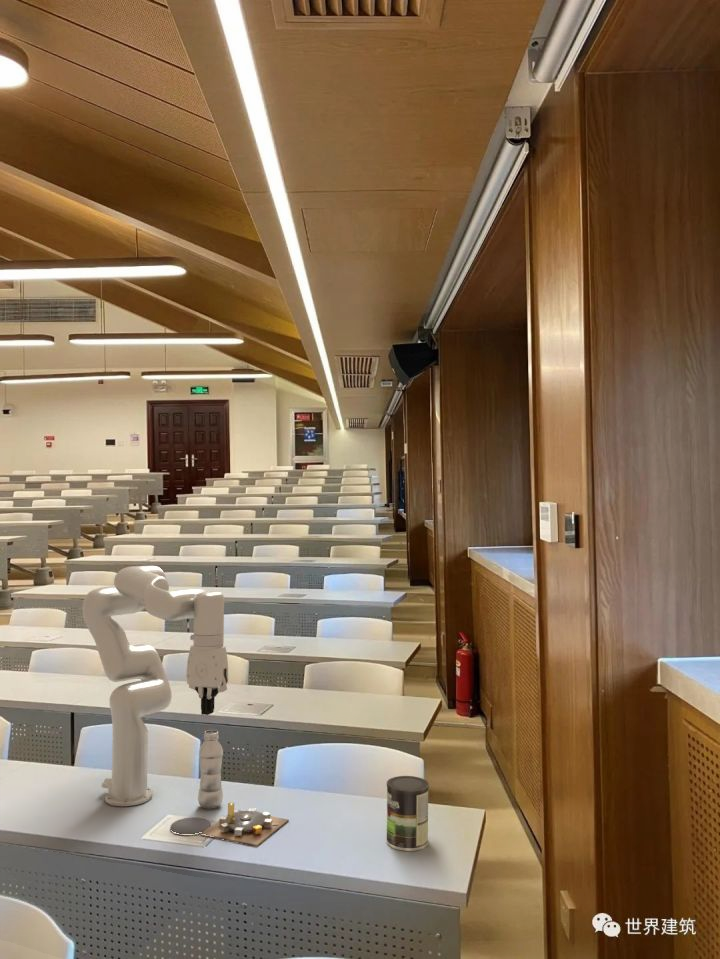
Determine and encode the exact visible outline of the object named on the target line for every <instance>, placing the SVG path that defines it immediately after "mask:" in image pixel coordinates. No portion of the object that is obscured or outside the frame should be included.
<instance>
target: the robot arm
mask: <svg viewBox="0 0 720 959" xmlns="http://www.w3.org/2000/svg"><path fill="white" fill-rule="evenodd" d="M166 578H167V577H166V574H165V572H164V570H163V569H161V568H160V567H159V566H157V565H135V566H132V565H131V566H126V567H124V568H122V569H120V570H118V572H117V573H116V574H115V575H114V578H113V586H104V587H99V588H98V587H97V588H95V589H92V590H90V591H89V592H88V593H86V595H85V596H84V598H83V602H82V618H83V620H84V623H85V625H86V628H87V630H88V631H89V633H90V634H91V637H92V638H93V640H94V643H95V645H96V646H95V647H96V648H97V652H98V655H99V658H100V661H101V665H102V667H103V670H104V673H105V675H106V677H107V678H108V680H109V681H111V682H114V683H119V682H121V683H122V682H126V681H127V682H128V681H131V680H136V679H140V680H137V681H132V682H128V683H123V684H121V685H119V686H117V687H116V688H114V689H113V690H112V692H111V694H110V695H109V710H110V714H111V723H112V744H111V745H112V750H111V754H112V755H111V761H112V762H111V777H105V779H104V781H103V782H102V784H101V787H102V788H104V789H107V791H108V792H107V793H106V795H105V796H104V797H105V798H104V800H105V803H107V804H108V805H110V806H112V807H113V806H114V807H131V806H138V805H141V804H143V803H146V802H148V801H150V800H151V799H152V798H153V795H154V794H153V790H152V788H150V787H148V766H149V763H148V762H149V761H148V760H149V731H148V728H147V726H146V724H145V722H144V721H143V719H142V717H143V716H147V715H150V714H155V713H159V712H161V711H164V710H166V709H167V708H168V707H169V706H170V704H171V703H172V702H171V701H172V698H173V697H172V688H171V686H170V682H169V680H168V679H169V678H168V676H167V673H166V671H165V668H164V665H163V662H162V660H161V658H160V655H159V653H158V651H157V650H156V649H155V648H154V647H153V646H152V645H150V644H145V643H142V644H141V643H140V644H135V645H134V644H130V642H129V639H128V637H127V634H126V632H125V630H124V629H123V627H122V626H121V625H120V623H118V622H117V621H116V620H114V619H113V618H112V617H113V616H122V615H130V614H137V613H140V612H141V611H143V610H145V611H146V612H147V613H148V614H149V615H151V616H153V617H156V618H158V619H160V620H162V621H171V622H173V621H179V620H186V619H188V620H190V619H193V634H191V635H190V638H189V639H190V641H193V645H190V647H189V652H188V655H187V656H188V657H187V665H186V676H185V678H186V683H187V685H188V687H189V688H190V689H191V690H193V691H195V692H196V693H197V694H198V697H199V699H200V710H201V712H200V714H201V715H203V716H204V715H205V716H208V715H211V714H213V713H214V712H215V698H216V697H217V695H218V694H219V693H223V692H224V693H225V692H227V691H228V687H227V684H228V682H229V663H228V662H229V661H228V653H227V648H226V646H225V645H224V640H225V639H224V635H225V634H224V632H225V629H224V628H225V626H224V625H225V624H224V623H225V596H224V594H223V593H222V592H220V591H208V590H206V589H202V588H191V589H178V590H170V586H169V583H168V580H167V579H166Z"/></svg>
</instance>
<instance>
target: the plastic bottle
mask: <svg viewBox="0 0 720 959" xmlns="http://www.w3.org/2000/svg"><path fill="white" fill-rule="evenodd" d="M203 739H204V741H203V743H202V744H201V746H200V747H199V750H198V759H199V771H200V780H199V789H198V794H197V800H198V804H199V806H200V807H201V808H202V809H209V810H210V809H216V808H218V807H220V806H221V805H222V804H223V799H224V793H223V788H222V778H221V777H222V776H221V774H222V772H221V771H222V763H223V756H224V749H223V746H222V745H221V743H220V742H219V731H218V730H216V729H208V730H205V731H204V734H203Z"/></svg>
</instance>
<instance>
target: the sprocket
mask: <svg viewBox="0 0 720 959" xmlns="http://www.w3.org/2000/svg"><path fill="white" fill-rule="evenodd" d="M238 810H239V809H235V802H229V803H227V815H228V816H227V815H221V816H220V818H219V820H218V821H219V825H220V830H221V831H222V832H227V831H230V832H234V836H242V835H243V834H246V833H254V834H255V835H256V834H260V833H262V829H263V828H264V827H265V828H271V826H272V819H270V816H271V813H270V812H268V811H264V812H260V811H257V808H249V809H248V810H240V812H239V811H238Z"/></svg>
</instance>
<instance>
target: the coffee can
mask: <svg viewBox="0 0 720 959" xmlns="http://www.w3.org/2000/svg"><path fill="white" fill-rule="evenodd" d="M429 788H430V783H429V782H428V780H426V779H424V778H422V777H418V776H413V775H399V776H394V777H391V778H389V779H388V780H387V781H386V840H385V843H386V844H387V845H388V846H389V847H391V849H394V850H396V851H402V852H417V851H420V850H423V849H425V848H426V847H428V845H429V838H428V837H429Z"/></svg>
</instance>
